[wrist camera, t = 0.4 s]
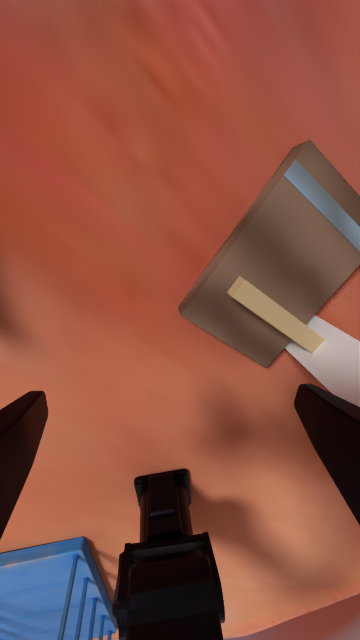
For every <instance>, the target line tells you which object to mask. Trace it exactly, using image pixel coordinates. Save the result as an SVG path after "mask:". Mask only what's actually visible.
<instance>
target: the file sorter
mask: <svg viewBox="0 0 360 640" xmlns="http://www.w3.org/2000/svg"><path fill="white" fill-rule="evenodd" d="M116 630H117V621H116V620H115V618H114V617H113V615H112V604H111V602H110V600H109V597H108V595H107V592H106V590H105V587H104V585H103V582H102V580H101V577H100V575H99V572H98V570H97V567H96V565H95V562H94V560H93V557H92V555H91V552H90V549H89V547H88V544H87V542H86V539H85V537H78V538H74V539H69V540H64V541H60V542H55V543H50V544H45V545H40V546H35V547H30V548H25V549H20V550H16V551H11V552H6V553H1V554H0V640H92V638H96V637H99V640H103V636H105V635H108V640H111V634H113V633H116Z"/></svg>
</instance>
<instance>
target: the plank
mask: <svg viewBox="0 0 360 640" xmlns="http://www.w3.org/2000/svg"><path fill="white" fill-rule="evenodd" d="M359 265H360V196H359V195H358V194H357V192H356V191H355V190H354V189H353V188H352V187H351V186H350V185H349V183H348V182H347V181H346V180H345V179H344V178H343V177H342V175H341V174H340V173H339V172H338V171H337V170H336V169H335V168H334V166H333V165H332V164H331V163H330V162H329V161H328V160H327V159H326V157H325V156H324V155H323V154H322V153H321V152H320V151H319V150H318V148H317V147H316V146H315V145H314V144H313V143H312V142H311V141H310V140H308V141H306V142H304V143H301V144H299V145H297V146H295V147H293V148H292V150H291V151H290V153H289V154H288V155H287V157H286V158H285V160H284V161H283V162H282V164H281V165H280V167H279V168H278V169H277V171H276V172H275V173H274V175H273V176H272V178H271V179H270V180H269V182H268V183H267V185H266V186H265V187H264V189H263V190H262V192H261V193H260V194H259V196H258V197H257V198H256V200H255V201H254V203H253V204H252V205H251V207H250V208H249V210H248V211H247V212H246V214H245V215H244V217H243V218H242V219H241V221H240V222H239V223H238V225H237V226H236V228H235V229H234V230H233V232H232V233H231V235H230V236H229V237H228V239H227V240H226V242H225V243H224V244H223V246H222V247H221V248H220V250H219V251H218V253H217V254H216V255H215V257H214V258H213V260H212V261H211V262H210V264H209V265H208V267H207V268H206V269H205V271H204V272H203V273H202V275H201V276H200V278H199V279H198V280H197V282H196V283H195V285H194V286H193V287H192V289H191V290H190V291H189V293H188V294H187V296H186V297H185V298H184V300H183V301H182V303H181V304H180V305H179V307H178V309H179V312H180V315H181V316H182V317H184V318H185V319H187V320H189V321H190V322H192V323H194V324H195V325H197V326H198V327H200V328H202V329H203V330H205V331H207V332H208V333H210V334H211V335H213V336H215V337H216V338H218V339H219V340H221V341H223V342H224V343H226V344H228V345H229V346H231V347H232V348H234V349H236V350H237V351H239V352H241V353H242V354H244V355H245V356H247V357H249V358H250V359H252V360H254V361H255V362H257V363H258V364H260V365H262V366H263V367H265V368H267V367H268V365H269V364H270V363H271V362H272V361H273V360H274V359H275V358H276V357H277V356H278V354H279V353H280V352H281V351H282V350H283V349H284V348H285V347H286V346H287V344H288V343H289V342H290V341H291V340H292V339H291V338H290V337H288V336H287V335H285V334H284V333H283V332H281V331H280V330H278V329H277V328H275V327H274V326H273V325H271V324H270V323H268V322H267V321H266V320H264V319H263V318H261V317H260V316H258V315H257V314H256V313H254V312H253V311H251V310H250V309H248V308H247V307H246V306H244V305H243V304H241V303H240V302H238V301H237V300H236V299H234V298H233V297H232V296H230V295H229V294H228V293H227V292H228V290H229V289H230V288H231V286H232V285H233V284H234V282H235V281H236V280H237V279H238V277H239V276H240V277H242V278H243V279H245V280H246V281H248V282H249V283H250V284H252V285H253V286H254V287H256V288H257V289H258V290H260V291H261V292H262V293H264V294H265V295H266V296H268V297H269V298H270V299H272V300H273V301H274V302H276V303H277V304H278V305H280V306H281V307H282V308H284V309H285V310H286V311H288V312H289V313H290V314H292V315H293V316H294V317H296V318H297V319H298V320H300V321H301V322H302V323H304V324H305V325H306V323H307V322H308V321H309V320H310V319H311V318H312V317H313V316H314V315H315V313H316V312H317V311H318V310H319V309H320V308H321V307H322V306H323V305H324V303H325V302H326V301H327V300H328V299H329V298H330V297H331V296H332V295H333V293H334V292H335V291H336V290H337V289H338V288H339V287H340V286H341V285H342V284H343V282H344V281H345V280H346V279H347V278H348V277H349V276H350V275H351V274H352V272H353V271H354V270H355V269H356V268H357V267H358V266H359Z"/></svg>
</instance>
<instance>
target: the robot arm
mask: <svg viewBox="0 0 360 640" xmlns="http://www.w3.org/2000/svg"><path fill="white" fill-rule="evenodd" d="M294 406H295V409H296V411H297V413H298V415H299V418H300V420H301V422H302V424H303V426H304V428H305V430H306V432H307V434H308V437H309V439H310V441H311V443H312V445H313V447H314V448H315V450H316V452H317V454H318V455H319V457H320V459H321V461H322V462H323V464H324V466H325V467H326V469H327V471H328V472H329V474H330V476H331V478H332V479H333V481H334V483H335V484H336V486H337V488H338V489H339V491H340V493H341V494H342V496H343V498H344V500H345V501H346V503H347V505H348V506H349V508H350V510H351V511H352V513H353V515H354V516H355V518H356V520H357V522H358V523H359V525H360V407H359V406H357V405H355V404H353V403H350V402H348V401H346V400H344V399H342V398H340V397H338V396H336V395H334V394H332V393H330V392H328V391H326V390H323V389H321V388H319V387H317V386H315V385H313V384H301V385H299V387H298V390H297V394H296V397H295V401H294ZM47 418H48V407H47V401H46V395H45V393H44V392H43V391H30V392H28V393H26V394H25V395H23V396H21V397H20V398H18V399H17V400H15V401H13V402H12V403H10V404H9V405H7V406H6V407H4V408H2V409H1V410H0V539H1V537H2V535H3V532H4V530H5V528H6V525H7V523H8V521H9V519H10V516H11V514H12V512H13V509H14V507H15V505H16V502H17V500H18V498H19V496H20V493H21V491H22V489H23V486H24V484H25V482H26V479H27V477H28V475H29V472H30V470H31V468H32V465H33V462H34V459H35V456H36V453H37V450H38V447H39V443H40V440H41V437H42V434H43V431H44V427H45V424H46V421H47ZM134 485H135V490H136V494H137V498H138V502H139V506H140V543H133V544H131V543H125V550H124V552H123V553H121V554H120V555H119V568H118V577H117V583H116V589H115V595H114V600H113V606H112V615H113V617H114V618H115V620H116V621H117V628H118V629H119V640H223V635H222V629H221V623H224V621H225V610H224V600H223V593H222V587H221V582H220V577H219V573H218V569H217V565H216V561H215V558H214V554H213V550H212V546H211V542H210V538H209V535H208V532H203V534H196V535H193V531H192V525H191V518H190V511H189V505H190V504H191V499H190V489H189V479H188V471H187V470H186V469H182V470H176V471H171V472H165V473H159V474H154V475H148V476H142V477H137V478H135V479H134Z"/></svg>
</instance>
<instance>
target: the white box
mask: <svg viewBox="0 0 360 640" xmlns="http://www.w3.org/2000/svg"><path fill="white" fill-rule="evenodd" d="M227 293H228V294H229V295H230V296H232V297H233V298H234V299H236V300H237V301H238V302H240V303H241V304H243V305H244V306H246V307H247V308H248V309H250V310H251V311H253V312H254V313H256V314H257V315H258V316H260V317H261V318H263V319H264V320H266V321H267V322H268V323H270V324H271V325H273V326H274V327H275V328H277V329H278V330H280V331H281V332H283V333H284V334H285V335H287V336H288V337H290V338H291V339H292V340H291V341H290V342H289V343H288V344H287V346H286V347H285V349H286V350H287V351H288V352H289V353H290V354H291V355H292V356H294V357H295V358H296V359H297V360H298V361H299V362H300V363H301V364H302V365H303V366H304V367H305V368H306V369H307V370H308V371H309V372H310V373H311V374H312V375H313V376H314V377H316V378H317V379H318V380H319V381H320V382H321V383H322V384H323V385H324V386H325V387H326V388H327V389H328V390H329V391H330V392H331V393H332V394H334V395H336V396H338V397H340V398H342V399H344V400H346V401H348V402H350V403H353V404H355V405H357V406H359V407H360V341H358V340H356V339H354V338H353V337H351V336H349V335H348V334H346V333H344V332H343V331H341V330H339V329H337V328H336V327H334V326H332V325H331V324H329V323H327V322H326V321H324V320H322V319H320V318H319V317H317V316H315V315H314V316H313V317H312V318H311V319H310V320H309V321H308V322H307V323H306V325H305V324H304V323H302V322H301V321H300V320H298V319H297V318H296V317H294V316H293V315H292V314H290V313H289V312H288V311H286V310H285V309H284V308H282V307H281V306H280V305H278V304H277V303H276V302H274V301H273V300H272V299H270V298H269V297H268V296H266V295H265V294H264V293H262V292H261V291H260V290H258V289H257V288H256V287H254V286H253V285H252V284H250V283H249V282H248V281H246V280H245V279H243V278H242V277H240V276H239V277H238V279H237V280H236V281H235V282H234V284H233V285H232V286H231V288H230V289H229V290H228V292H227Z"/></svg>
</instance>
